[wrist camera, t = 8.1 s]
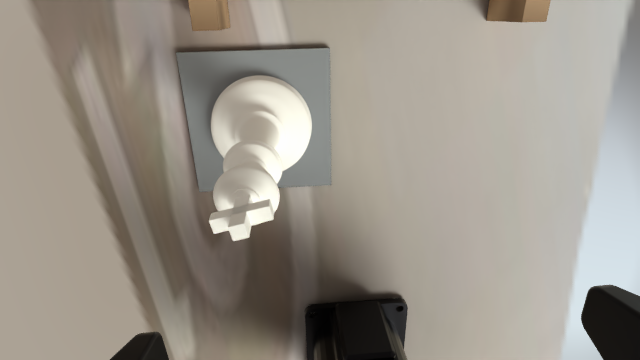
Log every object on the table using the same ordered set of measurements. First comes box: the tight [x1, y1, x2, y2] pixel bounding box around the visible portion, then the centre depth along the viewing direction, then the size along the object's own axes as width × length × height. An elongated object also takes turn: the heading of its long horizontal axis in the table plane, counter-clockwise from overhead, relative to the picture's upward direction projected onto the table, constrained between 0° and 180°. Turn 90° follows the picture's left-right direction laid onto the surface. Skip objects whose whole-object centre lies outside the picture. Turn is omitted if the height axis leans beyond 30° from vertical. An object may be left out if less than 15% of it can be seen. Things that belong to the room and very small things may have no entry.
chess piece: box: [209, 75, 312, 241], centre depth 14 cm, size 5×5×10 cm
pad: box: [176, 48, 331, 192], centre depth 19 cm, size 7×7×1 cm
